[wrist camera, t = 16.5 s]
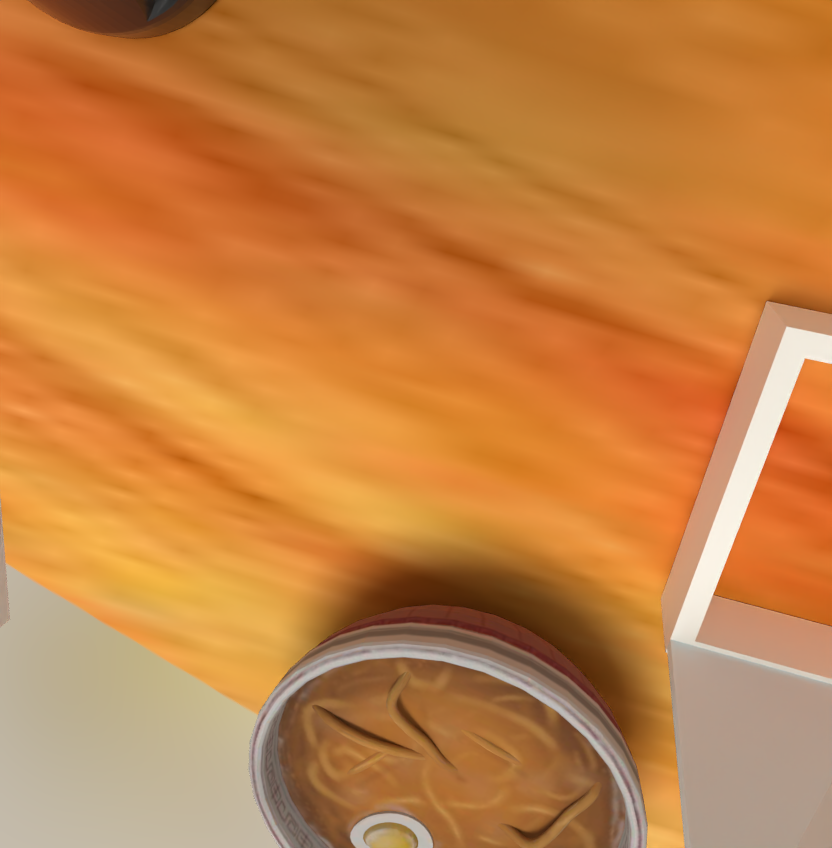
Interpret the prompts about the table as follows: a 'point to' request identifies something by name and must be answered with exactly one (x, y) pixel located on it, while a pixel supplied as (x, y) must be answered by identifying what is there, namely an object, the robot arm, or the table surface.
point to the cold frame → (747, 633)
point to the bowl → (442, 742)
